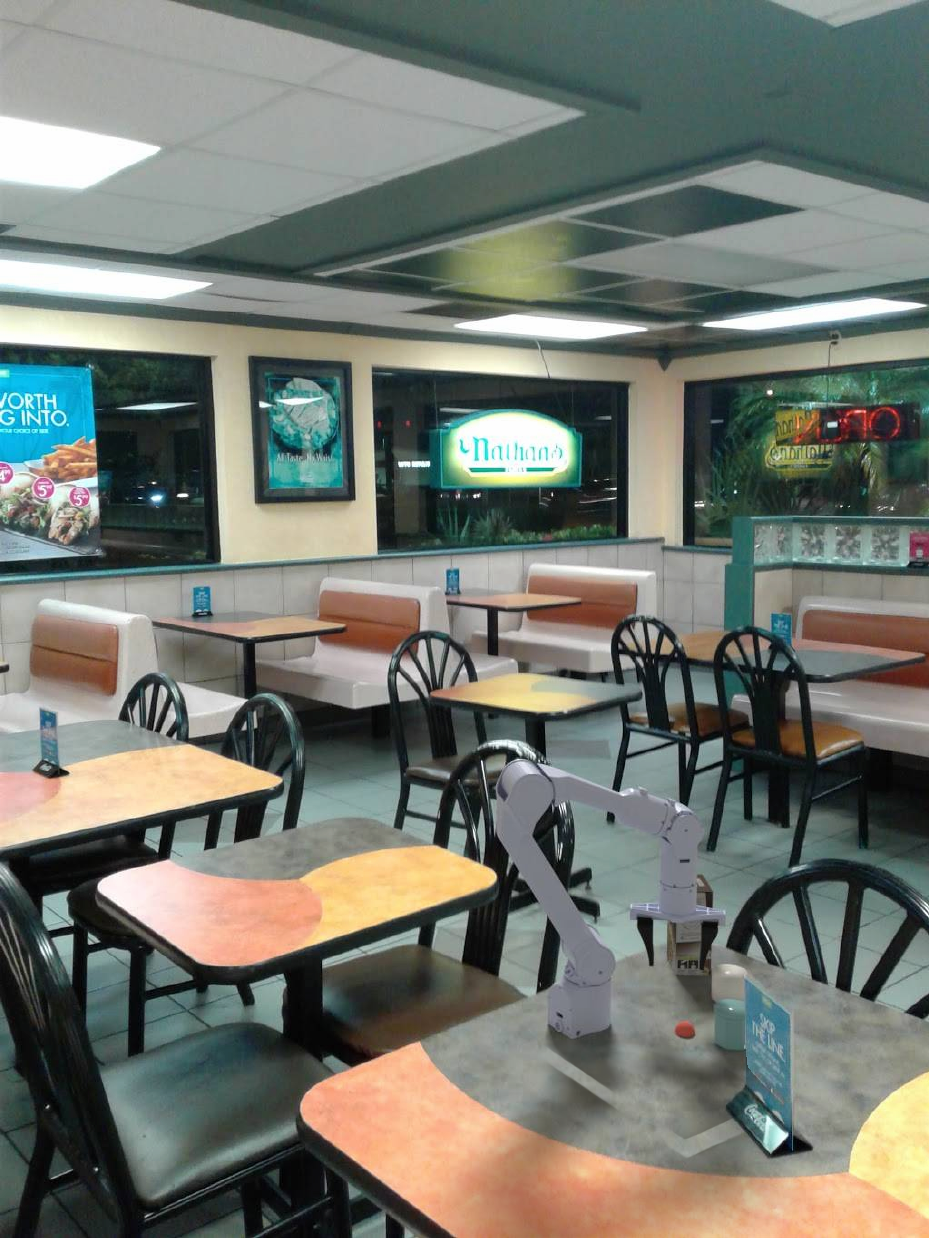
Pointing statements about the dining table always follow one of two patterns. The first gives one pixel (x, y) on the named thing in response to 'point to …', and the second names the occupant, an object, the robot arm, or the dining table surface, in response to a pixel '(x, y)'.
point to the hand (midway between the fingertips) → (676, 965)
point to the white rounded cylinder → (728, 982)
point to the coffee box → (689, 938)
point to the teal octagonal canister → (729, 1024)
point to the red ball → (684, 1029)
